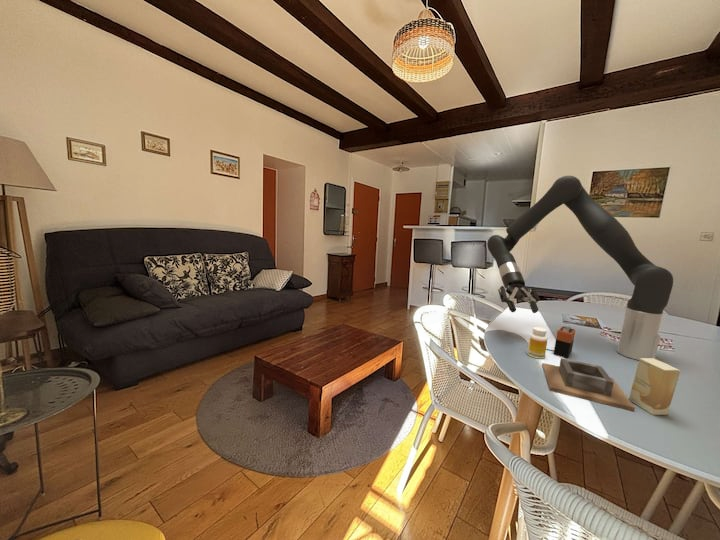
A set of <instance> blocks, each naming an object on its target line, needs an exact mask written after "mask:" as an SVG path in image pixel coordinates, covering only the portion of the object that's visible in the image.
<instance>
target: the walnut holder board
mask: <svg viewBox="0 0 720 540" xmlns="http://www.w3.org/2000/svg"><path fill="white" fill-rule="evenodd" d="M541 367H542V371H543V374H544V377H545V380H546V384H547V386H548V390H549V391H552V392H555V393H560V394H563V395H567V396H570V397H575V398H578V397H579V399H583V400H588V401H592V402H595V403H600V404H603V405H607V406H612V407H615V408H620V409H624V410H627V411H628V410H629V411H632V412H635V411H636V407H635V406H634V405H633V404H634V403H633V402H632V401H630V400H629V398H628V397H627V395H626V394H625V392H624V391H623V390H622V388H621V387H620V386H619V384H618V383H617V382H616V380H615V379H614V378H613V377H610V376H609V374H608V373H607V372H606V371H605V369H604V368H603V366H601V365H596V364H591V363H587V362H581V361H577V360H572V359H568V358H564V357H563V358H562V357H561V358H560V361H559V366H558V365H554V364H549V363H545V362H542V363H541Z"/></svg>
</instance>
